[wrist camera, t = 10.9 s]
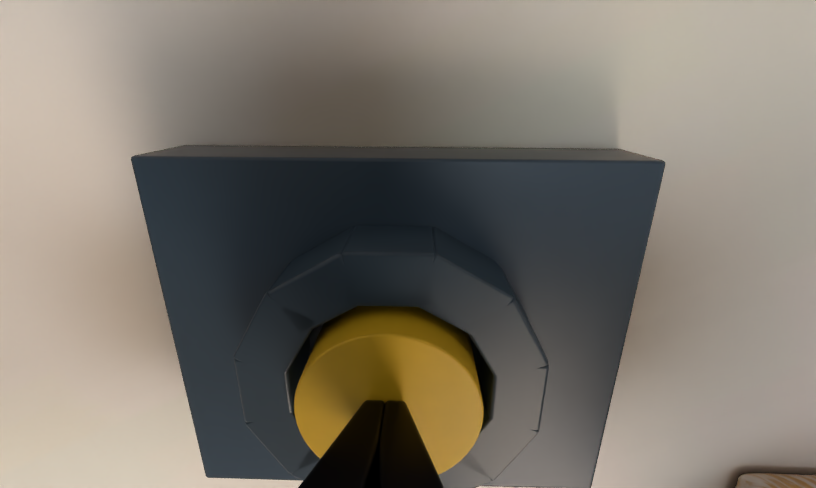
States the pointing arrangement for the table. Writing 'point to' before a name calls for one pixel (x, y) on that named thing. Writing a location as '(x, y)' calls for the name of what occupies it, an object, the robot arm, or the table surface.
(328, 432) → the button
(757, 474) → the decorative jar
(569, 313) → the blue button base
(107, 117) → the table surface
